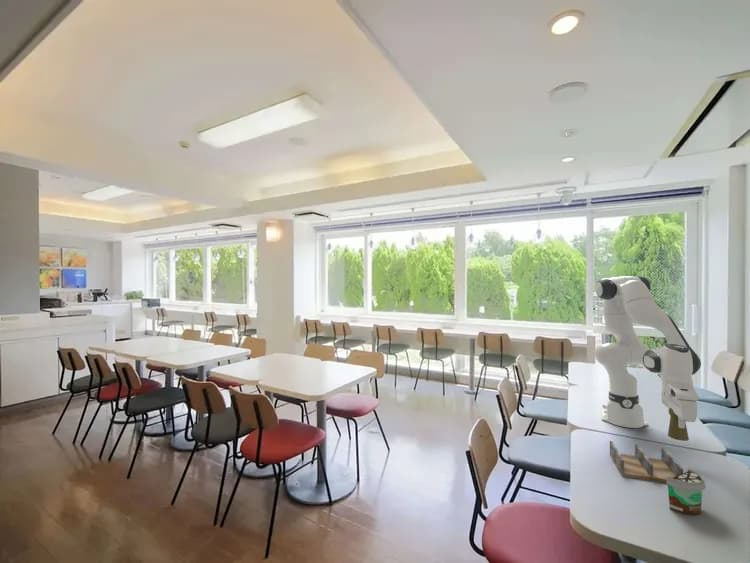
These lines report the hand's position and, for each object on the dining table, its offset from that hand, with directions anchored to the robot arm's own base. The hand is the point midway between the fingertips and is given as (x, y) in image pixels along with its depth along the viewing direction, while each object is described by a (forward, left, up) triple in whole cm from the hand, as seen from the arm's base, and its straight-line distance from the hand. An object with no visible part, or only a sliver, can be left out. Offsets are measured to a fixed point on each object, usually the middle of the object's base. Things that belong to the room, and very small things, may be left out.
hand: (677, 424), depth 131 cm
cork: (0, 0, -5) cm, 5 cm away
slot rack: (+11, -14, -14) cm, 22 cm away
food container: (+34, -9, -15) cm, 38 cm away
